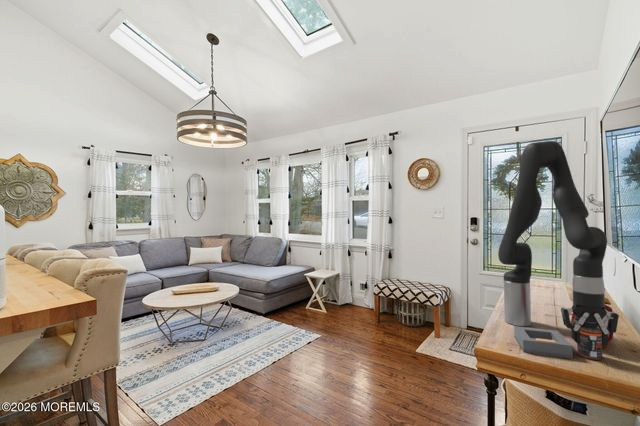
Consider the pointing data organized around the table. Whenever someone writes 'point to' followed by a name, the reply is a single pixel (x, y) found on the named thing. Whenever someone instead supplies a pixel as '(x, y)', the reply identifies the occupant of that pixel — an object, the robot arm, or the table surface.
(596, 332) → the supplement bottle
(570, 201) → the robot arm
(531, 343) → the socket holder
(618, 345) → the table surface
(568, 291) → the table surface
